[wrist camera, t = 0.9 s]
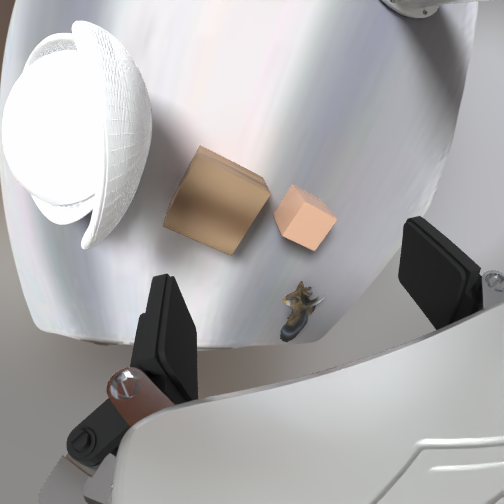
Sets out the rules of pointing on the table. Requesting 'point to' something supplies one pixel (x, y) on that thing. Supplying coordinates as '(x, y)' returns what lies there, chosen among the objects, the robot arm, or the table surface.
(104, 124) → the white toilet model
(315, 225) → the peach block
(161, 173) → the table surface
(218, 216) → the walnut block
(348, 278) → the table surface
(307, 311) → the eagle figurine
